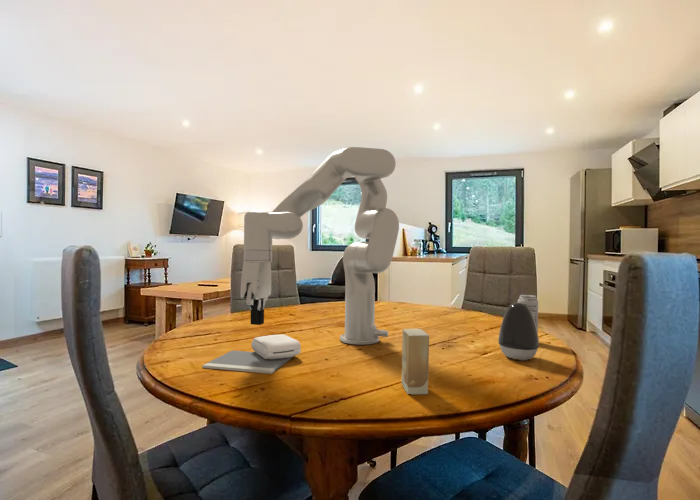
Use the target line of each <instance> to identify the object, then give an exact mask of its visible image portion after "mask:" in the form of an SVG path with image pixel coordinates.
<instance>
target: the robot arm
mask: <svg viewBox="0 0 700 500" xmlns="http://www.w3.org/2000/svg"><path fill="white" fill-rule="evenodd" d="M395 168H396V159H395V156H394V154H393V153H392V152H391V151H390V150H387V149H384V148H373V147H361V146H360V147H359V146H348V147H345V148H342V149H339V150H336V151H334V152H332V153H331V154H329V155H328V156H327V157H326V158H325V159H324V160H323V161H322V162H321V163H320V165H318V167H316V169H315V170H314V171H313V172H312V173H311V174H310V175H309V176H308V177H307V178H306V179H305V181H304V182H302V183H301V184H300V185H299V186H298V187H297V188H295V189H294V190H293V191H292V192H291V193H290V194H288V196H286V197H285V198H284V199H283V200H282V201H281V202H280V203H279V204H278V205H277V206H276V207H275V208H274V209H273V210H272V211H271V212H268V211H264V210H252V211H250V210H249V211H247V212H245V214H244V216H243V217H244V218H243V264H242V270H241V277H240V278H241V279H240V298H241V299H242V300H246V301H245V304H246V305H248V306H249V310H250V325H255V326H256V325H257V326H261V325H263V324H264V323H265V307H266V301H267V300H268V298H269V297H270V296H271V294H272V284H273V283H272V282H273V281H272V279H273V278H272V266H271V263H272V262H273V239H274V240H291V239H294V238H296V237H297V236H299V235H300V233H302V230H303V227H304V226H303V225H304V224H303V221H302V220H303V219H302V217H303V216H304V215H305V214H307V213H308V212H310V211H312V210H314V209H316V208H318V207H320V206H321V205H323V204H325V203H326V202H327V201H328V199H329V198H330V197H331V196H332V195H333V194H334V192H335V191H336V190H338V188H339V187H340V186H341V185H342V184H343V182H345V180H346V179H347V178H352V177H354V179H355V180H356V182H357V183H358V185H359V187H360V191H361V198H360V203H359V206H358V211H357V215H356V218H355V223H354V231H355V234H356V236H358V237H359V238H361V239H365V240H368V241H356V242H352V243H350V244H349V245H347V247H345V250H344V251H343V255H342V262H343V263H342V265H343V270H344V277H345V278H344V279H345V283H344V284H345V287H344V288H345V292H344V293H345V294H344V295H345V296H344V309H345V310H344V333H343V334H341V335H340V336H339V341H340V342H342V343H345V344H350V345H357V346H358V345H360V346H361V345H362V346H363V345H372V344H377V343H379V341H380V337H383V338H387V337H389V330H386V329H378V328H377V325H375V320H376V319H375V317H376V315H375V310H376V309H375V308H376V307H375V305H376V301H375V300H376V295H375V294H376V282H375V278H374V275H373V274H380V273H383V272H385V271H386V270H388V269H389V267H390V265H391V263H392V261H393V257H394V254H395V248H396V244H397V240H398V235H399V231H400V230H399V229H400V223H399V218H398V215H397V213H395V211H394V210H392V209H391V208H388V207H387V202H388V192H387V189H386V187H385V185H384V182H383V181H382V180H381V179H383V178H387V177H389V176H390V175H392V174H393V172H395Z"/></svg>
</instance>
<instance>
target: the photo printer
mask: <svg viewBox="0 0 700 500" xmlns="http://www.w3.org/2000/svg"><path fill="white" fill-rule="evenodd" d="M251 348H252V350H253V351H252V352H256V353H257V354H259V355H260V356H262V357H263V358H265V359H269V360H273V359H283V358H289V357H292V358H294V357H295V356H298V355H300V354H301V352H302V349H301V348H302V346H301V343H300V341H299V340H297V339H295V338H293V337H291V336H289V335H287V334H271V335H270V334H269V335H262V336H257V337H253V339H252V340H251Z"/></svg>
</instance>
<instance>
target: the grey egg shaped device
mask: <svg viewBox="0 0 700 500" xmlns="http://www.w3.org/2000/svg"><path fill="white" fill-rule="evenodd" d="M505 311H506V312H505V313H504V315H503V317H502V321H501V326H500V328H499V332H498V341H497V343H498V344H499V348H500V350H501V352H502V354H503V355H505V356H506V357H507V358H509V359H511V358H513V359H512V360H514V359H519V360H518V361H528V359H529V360H531V359H532V358H534V357H535V356H536V354H537V352H538V349H539V348H540V340H539V332H538V333H537V328H536V325H535V321H534V318H533V316H532V313H531V311H530V310H529V308H528V307H527V305H526V304H523V303H518V302H514V303H511V304H510V305H509V306H508V308H507V309H506V310H505Z"/></svg>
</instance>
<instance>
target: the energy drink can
mask: <svg viewBox="0 0 700 500" xmlns="http://www.w3.org/2000/svg"><path fill="white" fill-rule="evenodd" d="M517 303H523V304H526V305H527V307H528V308H529V310H530V311H531V313H532V316H533V318H534V321H535V325H536V328H537V333H538V334H539V331H538V330H539V300H538V299H537V296H536V295H532V294H519V297H518V299H517Z"/></svg>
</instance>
